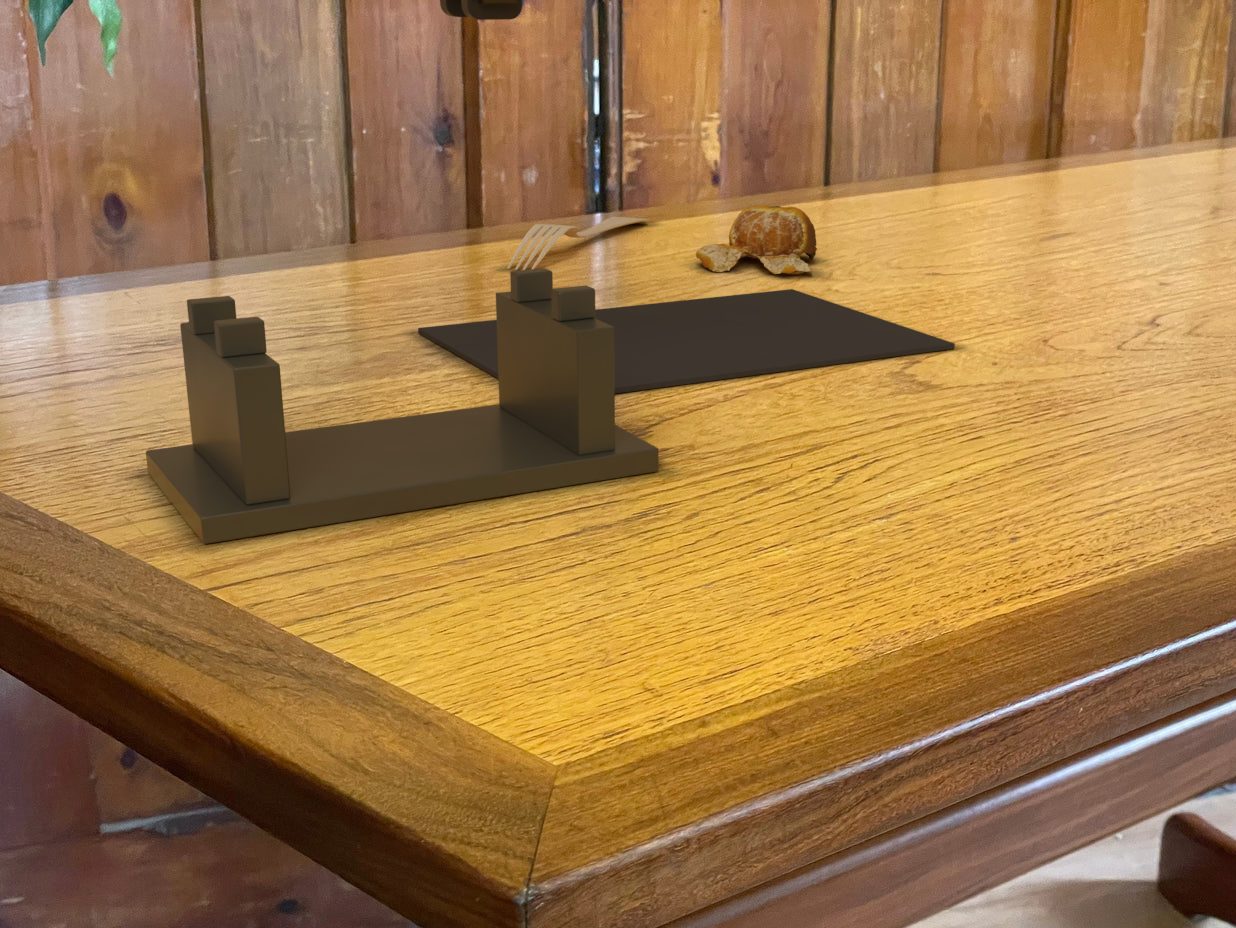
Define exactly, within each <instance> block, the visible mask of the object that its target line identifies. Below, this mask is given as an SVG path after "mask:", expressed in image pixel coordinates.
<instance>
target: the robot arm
mask: <svg viewBox="0 0 1236 928" xmlns="http://www.w3.org/2000/svg"><path fill="white" fill-rule="evenodd" d="M439 5H440V9H441V10H442V12H443V13H444V14H445V15H447V16H448V17H454V18H469V19H471V20H479V21H484V20H485V21H487V20H489V21H491V20H492V21H494V20H502V21H503V20H514V19H516V18H518V17H519V16H520V15H521V13H522V9H523V0H439Z"/></svg>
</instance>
